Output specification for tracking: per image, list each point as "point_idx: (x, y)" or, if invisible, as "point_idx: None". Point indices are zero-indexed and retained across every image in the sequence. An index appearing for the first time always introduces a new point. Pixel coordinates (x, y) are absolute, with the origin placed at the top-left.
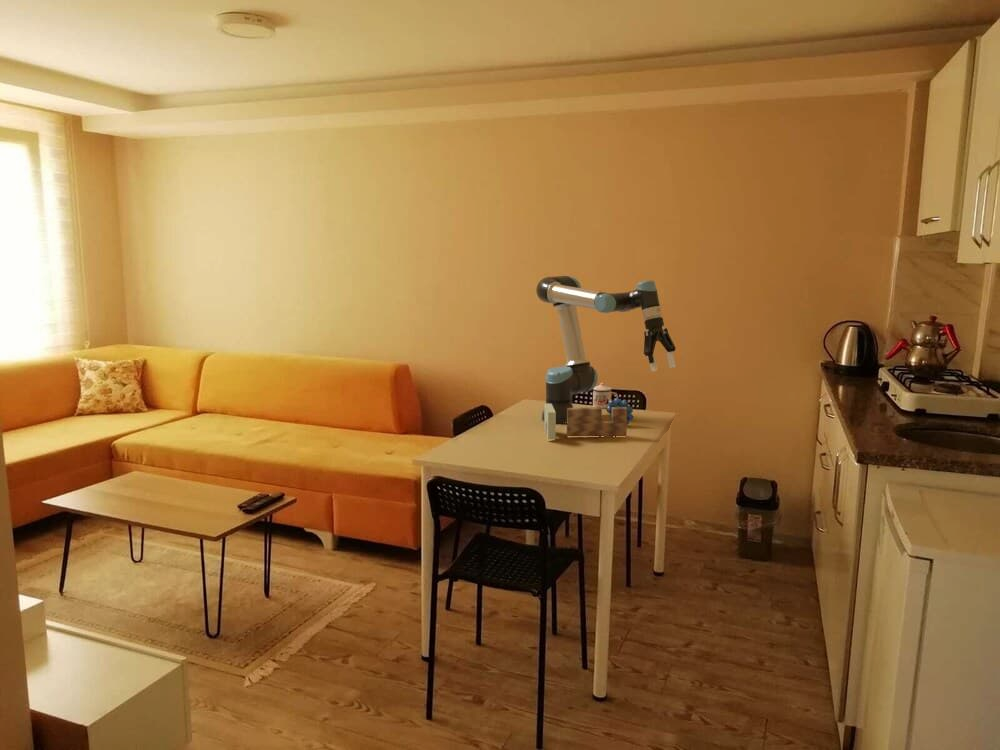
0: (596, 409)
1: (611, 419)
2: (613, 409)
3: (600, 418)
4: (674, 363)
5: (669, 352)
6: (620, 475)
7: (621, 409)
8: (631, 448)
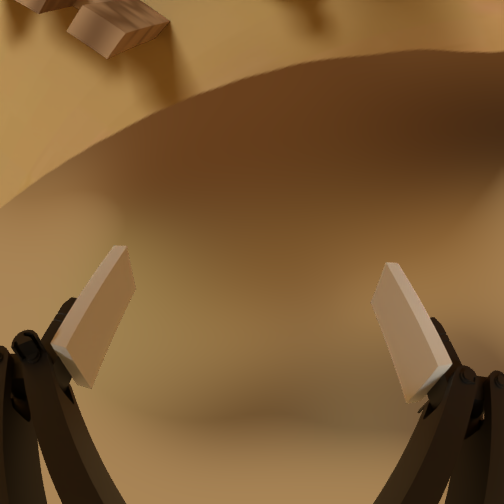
0: (28, 7)
1: (109, 2)
2: (69, 31)
3: (59, 7)
4: (378, 321)
5: (418, 386)
6: (8, 200)
7: (92, 46)
8: (87, 118)
